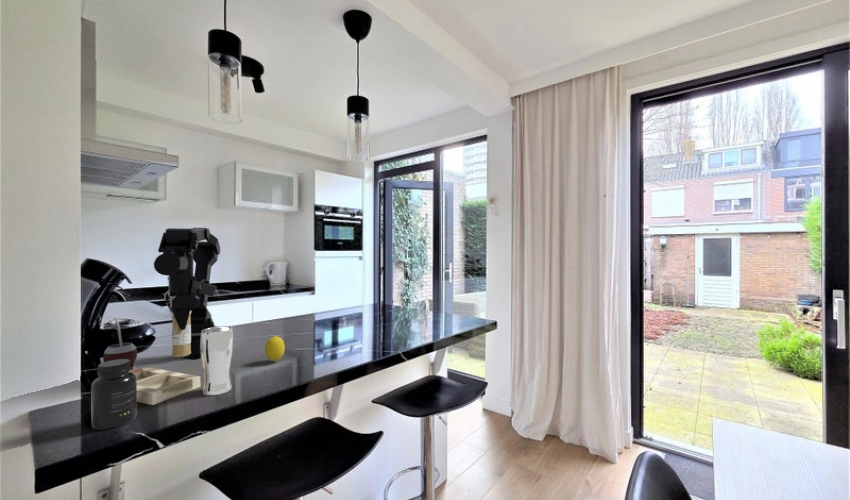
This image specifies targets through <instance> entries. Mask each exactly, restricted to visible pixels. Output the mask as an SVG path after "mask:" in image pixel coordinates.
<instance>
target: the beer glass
mask: <svg viewBox="0 0 850 500" xmlns="http://www.w3.org/2000/svg"><path fill="white" fill-rule="evenodd" d="M200 354H201V359H200V360H201V365H202V369H203V374H204V385H203V389H202V394H203V395H205V396H210V397H211V396H217V395H222V394H225V393H228V392H229V391H231V390H232V382H231V377H230V375H231V365H232V362H233V361H232V360H233V354H234V333H233V327H232V326H227V325H222V326H215V327H212V328H207V329H204V330H202V331H201V341H200Z"/></svg>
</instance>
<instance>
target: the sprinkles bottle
mask: <svg viewBox="0 0 850 500" xmlns="http://www.w3.org/2000/svg"><path fill="white" fill-rule="evenodd" d="M170 313H171V314H170V315H171V317H172V318H171V319H172V330H171V334H172V335H171V345H172V348H171V349H172V350H171V351H172V352H171V353H172V354H171V356H172V358H173V357H174V358H183V357H182V356H186V355H189V354H191V320H190V319H191V317H190V315H191V311H190V314H189V317H188V321H187V325H186V329H185V330H180V328H179V326H178V324H177V322H176V319H175V317H174V315H173V313H172V311H171V312H170Z"/></svg>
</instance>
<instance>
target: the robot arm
mask: <svg viewBox="0 0 850 500" xmlns="http://www.w3.org/2000/svg"><path fill="white" fill-rule="evenodd" d="M161 236H162V237H161V240H160V242H159V246H158V250H157V252H158V253H162V254H159V255H158V256H156V258H155V259H154V261H153V268H154V270H155V271H156V272H157V273H158V274H160V275H162V276H167V282H168V290H167V291H166V292H165V293H164V294H163V296H164V297H163V298H164V299H163V300H164V301H165V304H166V305H167V308H168V310H169V312H170V313H171V311H172V313H173V315H174V317H175V319H176V322H177V324H178V326H179V328H180V330H185V329H186V325H187V321H188V317H189V314H190V311H191V315H190V317H191V319H190V320H191V354H189V355H186V356H182V357H181V358H185V359H186V358H187V359H193V360H196V359H197V360H198V359H200V358H201V354H200V341H201V331H202V330H204V329H207V328H212V327H216V326H215V322H214V320H213V318H212V314H211V312H210V311H209V309H208V299H209V297H210V298H211V297H212V298H213V297H214V296H215V293H216V290H217V288H218V286H216V285H214V284H213V285H212V284H211V283H210V281H211V274H212V273H211V272H212V267H213V266H214V265H215V264H216V262H218V259H219V258H218V257H219V255H220V254H221V245H220V242H219V239H218V238H217V237H216V236H215V235H213V234H212V233H211V231H210V229H209V228H207V227H192V228H183V227H182V228H178V227H177V228H176V227H175V228H173V227H172V228H170V227H167V228H166V229H165V232H163V234H162V235H161ZM194 263H195V268H194ZM167 301H168V302H167Z"/></svg>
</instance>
